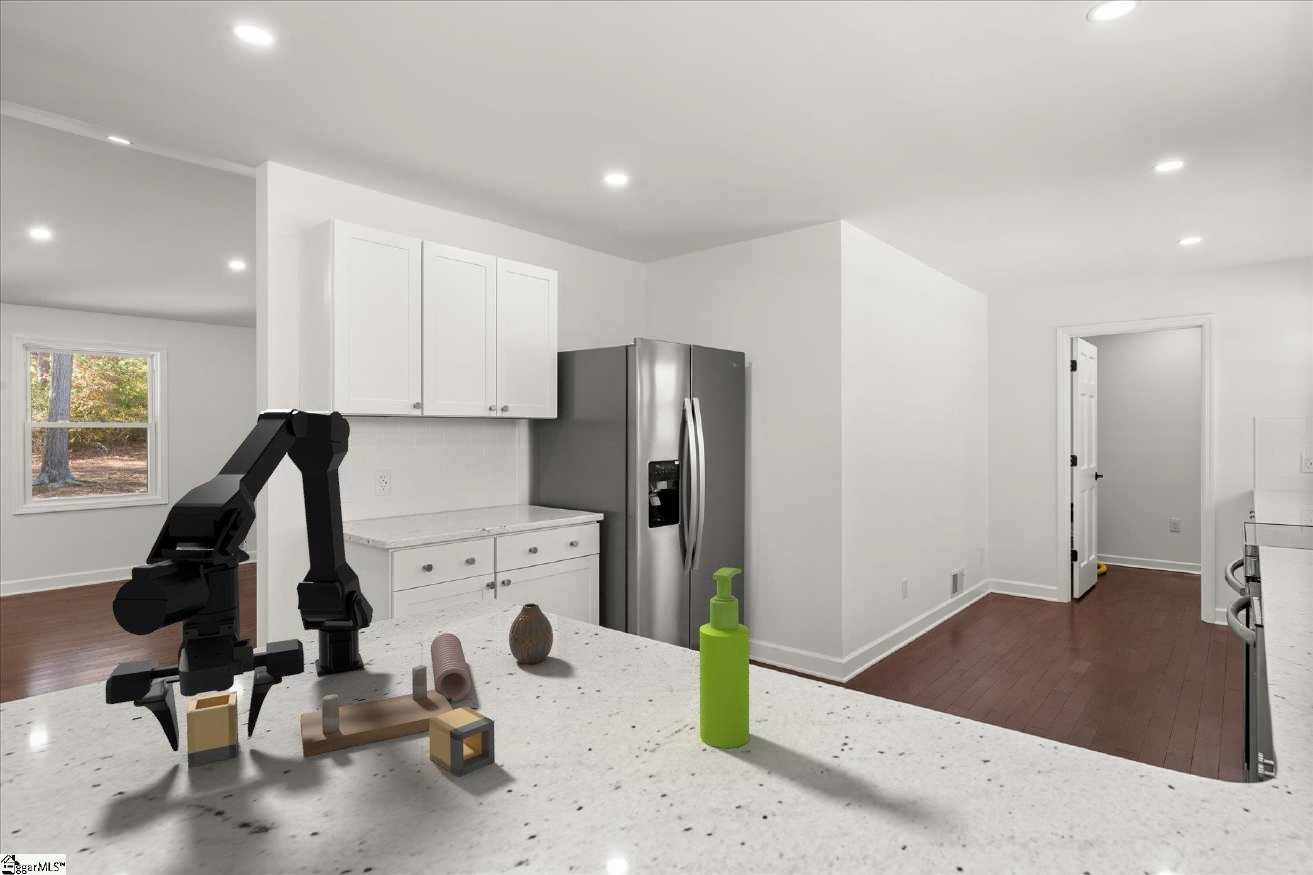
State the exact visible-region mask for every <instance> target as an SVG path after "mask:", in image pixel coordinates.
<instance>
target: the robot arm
mask: <svg viewBox="0 0 1313 875" xmlns="http://www.w3.org/2000/svg"><path fill="white" fill-rule="evenodd" d="M350 426H351V425H350V423H349V421H348V419H347V418H346V417H343V415H342V414H341V413H340V411H338V410H337V411H336V410H334V411H333V410H326V411H325V410H323V411H321V410H319V411H316V410H313V411H309V410H307V411H304V410H299V409H297V408H269V409H266V410H262V411H261V412H260V413H259V414H258V416H257V421H256V424H255V426H254V427H253V428H252V429H251V431H250V432H249V433H248V434H247V436H246V437H245V438H244V440H243V441H242V442H241V444H240V445H239V446H238V447H237V449H236V450H235V451H234V453H233V454H232V455H231V457H230V458H229V459H228V461H227V462H226V463H225V464H224V465H223V467H222V468H221V469H220V471H219V472H218V473H217V474H216V475H215V476H214V477H213V478H212V479H210V480H209V481H206V482H204V483H203V484H200V485H198V486H195V487H193V488H192V489H190V490H189V491H188V492H187V493H186V494H184V495H183V496H182V497H181V498H180V499H179V500H178V501H176V502H175V503H174V504H173V505H172V507H171V508H170V510H169V511H168V513H167V515H166V519H165V521H164V524H163V525H162V528H160V532H159V533H158V536H157V537H156V539H155V542H154V543H153V546H152V547H151V549H150V552H149V554H148V556H147V557H146V561H145V563H146V565H145V564H141V565H137V566H134V567H132V569H131V579H130V580H128V581H126V582H125V583H124V584H122V586H121V587H120V588H119V589H118V591H117V592H116V594H115V598H114V599H113V601H112V612H113V616H114V618H115V621H116V622H117V624H118V625H119V627H121V628H122V629H123V630H124V631H125V632H128V633H129V634H132V635H136V636H146V635H150V634H153V633H155V632H158V631H160V630H163V629H165V628H168V627H170V626H173V625H176V624H178V623H180V633H181V634H180V636H181V643H180V646H179V649H178V651H177V664H174V665H173V664H172V665H165V666H159V662H158V658H149V659H142V660H136V661H129V662H127V661H126V662H120V663H119V664H118V665H116V667H115V668H114V669H113V671H112V672H111V673H110V675H109V677H108V678H107V679H106V682H105V683H106V684H105V689H104V690H105V704H107V705H115V704H116V705H117V704H122V703H129V702H132V703H133V707H135V708H141V707H144V708H147V710H149V711H150V712H152V714H153V715H154V716H155V719H156V720H157V721H158V723H159V724H160V727H161V728H162V730H163V732H164V735H165V736H166V739H167V741H168V743H169V746H170V748H171V749H172V752H178V751H179V748H180V729H179V722H178V715H177V714H178V713H177V708H176V700H175V691H174V685H173V684H176V683H179V688H180V689H179V691H180V695H181V696H182V697H195V696H197V695H198V694H203V693H209V692H224V691H225V692H226V691H228V690H229V689H231V688H233V686H234V681H235V676H240V675H244V673H248V672H249V673H251V672H254V673H253V679H252V687H251V688H252V689H251V693H250V694H251V695H250V703H249V710H248V711H249V712H248V719H247V737H248V738H252V737H253V733H254V731H255V728H256V725H257V722H258V718H259V716H260V711H261V709H262V706H263V704H264V701H265V699H266V697H267V695H268V693H269V692H270V690H271V689H272V687H273V686H276V685H279V684H281V683H282V682H283V678H285V677H290V676H295V675H296V676H297V675H301V674H303V673H305V652H304V645H303V642H302V641H301V640H300V639H298V638H293V639H287V640H279V641H272V642H266V643H265V645H266V647H265V649H266V650H265V651H264V652H255V653H254V639H253V637H252V638H245V639H243V638H242V639H241V604H240V603H241V602H240V601H241V600H240V564H241V563H245V562H247V561H249V560H250V558H251V557H250V554H249V553H248V552H246V551H245V550H243V549H241V548H240V546H241V545H242V544H243V542H245V539H246V538H247V536H248V534H249V532H250V530H251V528H252V526H253V524H254V522H255V520H256V517H257V512H256V506H255V501H256V500H257V497H258V496H259V494H260V492H261V491H262V490H263V488H264V486H265V485H266V483H267V482H268V481H269V479H270V478H271V477H272V475H273V474H274V472H275V470H276V469H277V467H278V466H279V465H280V463H281V462H282V460H284V458H285V456H286V455H287V456H288V457H289V459H290V460H291V462H292V463H293V464H294V465H295V467H296V468H297V469H298V470H299V472H300V474H301V481H302V491H303V492H302V494H303V502H304V513H305V514H304V515H305V525H306V534H307V535H306V536H307V537H306V538H307V545H308V546H307V547H308V558H309V569H308V571H307V573H306V575H305V576H304V578H303V579H302V581H300V582H299V583H298V584H297V586H296V591H297V592H296V593H297V597H298V598H297V599H298V600H297V601H298V604H297V609H298V610H299V614H300V617H301V622H302V625H303V630H304V631H313V630H315V631H317V634H318V638H317V640H318V659H315V661H314V664H315V671H316V674H317V675H318V676H322V675H327V674H328V675H329V674H333V673H334V674H335V673H339V672H346V671H351V670H352V671H353V670H358V669H363V668H364V667H365V665H364V664H365V663H364V661H363V658H362V655H361V653H360V635H359V631H360V630H361V629H367V628H369V627H370V626H371V623H372V619H373V618H374V617H373V613H374V609H373V606H371V603H369V601H368V600H367V598H366V597H365V595H364V594H363V592H362V589H361V584H360V580H359V575H358V574H357V573H356V572H355V571H354V570H353V568H352V567H351V566H350V564H349V563H348V562H347V560H346V548H345V536H344V525H343V513H342V498H341V488H340V475H339V468H340V465H342V462H343V461H344V460H345V457H346V455H347V453H348V452H349V438H350V434H351V428H350Z"/></svg>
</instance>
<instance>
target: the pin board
mask: <svg viewBox="0 0 1313 875" xmlns="http://www.w3.org/2000/svg"><path fill="white" fill-rule="evenodd" d="M427 669H428V668H427V666H426V665H416V666H414V667H412V668H411V671H412V672H411V680H412V681H411V682H412V685H411V686H412V693H409V694H404V695H398V696H393V697H387V698H384V699H377V700H372V701H367V702H362V703H361V702H360V703H357V704H349V705H345V706H340V699H339V695H338V694H328V695H326V696H323V697H322V698H321V710H317V711H313V712H308V713H307V712H306V713H303V714H302V713H301V714H300V732H301V743H302V756H303V758H304V757H309V756H313V755H318V754H323V753H328V752H332V751H333V752H334V751H338V750H341V749H343V750H344V749H346V748H347V749H348V748H351V747H356V746H360V745H361V746H362V745H365V744H371V743H374V742H379V741H385V740H389V739H393V738H399V737H403V736H408V735H413V734H416V733H423V732H426V731H429V718H432V717H435V716H438V715H440V714H443V713H446V712H449V711H452V710H454V709H453V707H452V706H451V704H450V702H449V700H447V699H446V698H445V696H444V694H443V693H442V691H436V690H435V689H430V690H428V681H427V680H428V679H427V678H428V677H427V676H428V674H427V673H428V672H427V671H428V670H427Z"/></svg>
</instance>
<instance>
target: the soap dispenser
mask: <svg viewBox="0 0 1313 875" xmlns="http://www.w3.org/2000/svg"><path fill="white" fill-rule="evenodd" d="M741 573H742V568H734V567H721V568H719V569H718V570H717V571H715V572H714V573H713V574H712V580H714V581H715V580H716V581H717V582H716V595H714V596H713V597H711V598H710V600H709V622H707V623H705V624H703V625H701V626H700V627H699V736H700V739H701V741H702V742H704V743H705V744H707V745H708V746H711V747H715V748H721V749H732V748H733V749H734V748H738V747H742V746H743V745H745V744H747V743H748V741H750V629H749V628H748V627H747V626H746V625H744V624H741V623H739V600H738V598H737V597H735V596H734V595H732V578H733V577H735V576H736V575H737V574H741Z"/></svg>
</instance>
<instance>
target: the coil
mask: <svg viewBox="0 0 1313 875" xmlns="http://www.w3.org/2000/svg"><path fill="white" fill-rule="evenodd" d="M430 655H431V663H432V664H431V665H432V674H433V683H434V690H436V691H442V693H443V694H444V696H445V698H446V699H447V701H451V703H452V704H453V703H458V702H460V701H461V700H463V699H464V698H465V697H466V696H467V695H468V693H469V691H470V689H471V677H470V674H469V669H468V666H467V661H466V657H465V654H464V650H463V646H462V642H461V640H460V638H459V637H458V636H457V635H456V634H453V633H450V632H446V633H442V634H438V635H437V636H436V637H435V638H434V639H433V640H432V642H431V645H430Z"/></svg>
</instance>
